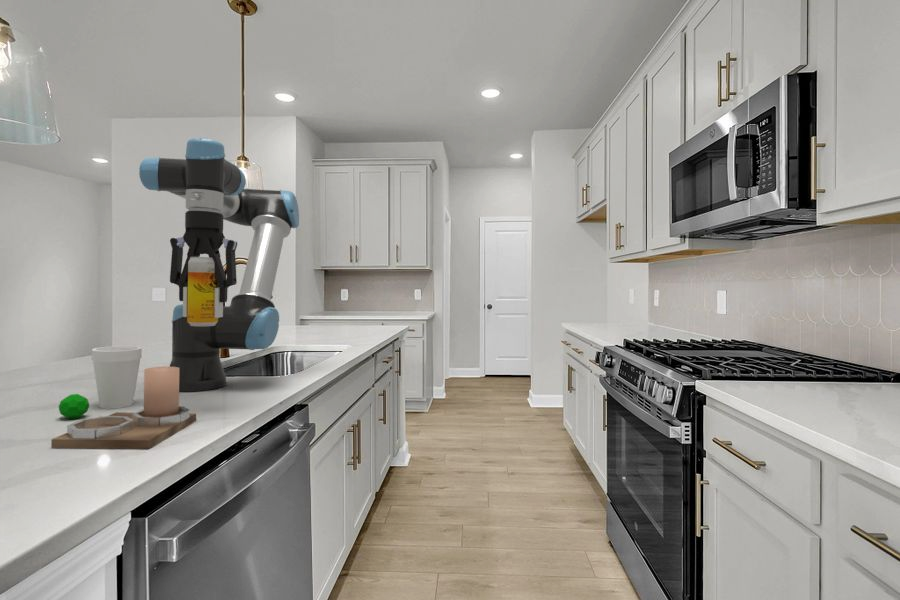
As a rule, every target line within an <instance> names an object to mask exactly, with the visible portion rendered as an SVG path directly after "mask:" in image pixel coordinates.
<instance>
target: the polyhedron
mask: <svg viewBox="0 0 900 600" xmlns="http://www.w3.org/2000/svg"><path fill="white" fill-rule="evenodd" d="M89 408H90V402H89V400H88V398H87V397H84V396H83V395H81V394H78V393H75V394H74V393H73V394H70V395H68V396H66V397H65V398H63V399H62V400H61V401H60V403H59V404H58V410H59V413H60V415H62V416H63V417H65V418H67V419H69V420H73V419H79V418H80V417H82V416H83V415H85V414H86V413H87V412H88V410H89Z"/></svg>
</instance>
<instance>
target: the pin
mask: <svg viewBox="0 0 900 600" xmlns="http://www.w3.org/2000/svg"><path fill="white" fill-rule="evenodd" d="M143 373H144V374H143V375H144V377H143V384H144V385H143V409H144V417H163V416H169V415H175V414H179V406H180V391H179V367H169V366H153V367H147V368H145V369H144V370H143Z"/></svg>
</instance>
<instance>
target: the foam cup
mask: <svg viewBox="0 0 900 600" xmlns="http://www.w3.org/2000/svg"><path fill="white" fill-rule="evenodd" d="M142 351H143V350H142V347H141V346H136V345H117V346H116V345H115V346H112V345H111V346H102V347H95V348H91V361H92V364H93V371H94V375H95V376H94V377H95V383H96V389H97V396H98V397H97V398H98V405H99V408H102V409H120V408H126V407H129V406H132V405H134V401H135V400H134V399H135V395H136V388H137V382H138V375H139V370H140V369H139V368H140V362H141V359H142Z"/></svg>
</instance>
